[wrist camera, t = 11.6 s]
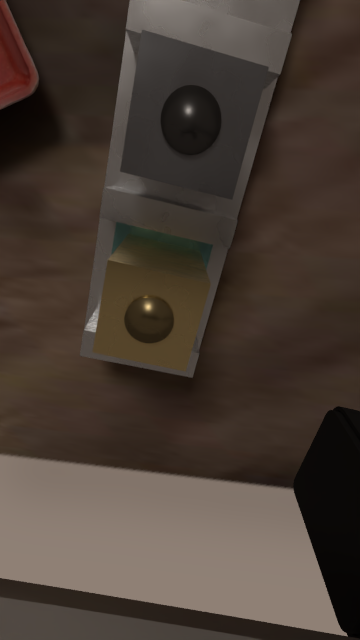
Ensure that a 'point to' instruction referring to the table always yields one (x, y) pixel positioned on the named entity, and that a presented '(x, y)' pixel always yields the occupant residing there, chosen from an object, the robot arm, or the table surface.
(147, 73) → the dark knobbed cube
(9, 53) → the plant saucer
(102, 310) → the yellow tall block
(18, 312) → the table surface
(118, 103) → the rail
